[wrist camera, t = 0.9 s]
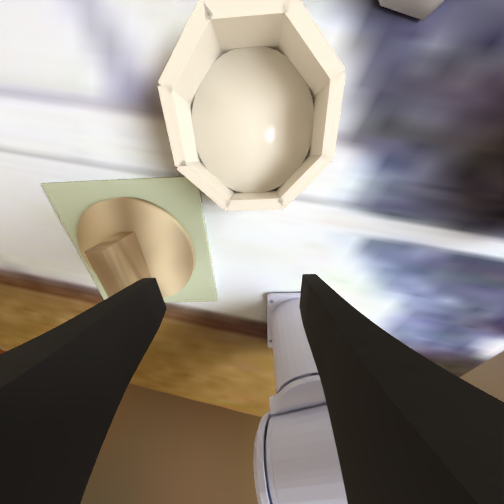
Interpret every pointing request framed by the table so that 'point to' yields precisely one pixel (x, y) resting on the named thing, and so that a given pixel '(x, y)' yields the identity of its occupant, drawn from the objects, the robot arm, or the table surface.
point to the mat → (153, 190)
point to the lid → (135, 245)
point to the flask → (412, 7)
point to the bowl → (252, 101)
